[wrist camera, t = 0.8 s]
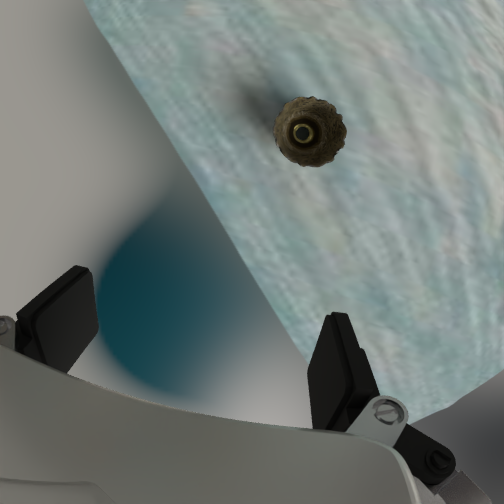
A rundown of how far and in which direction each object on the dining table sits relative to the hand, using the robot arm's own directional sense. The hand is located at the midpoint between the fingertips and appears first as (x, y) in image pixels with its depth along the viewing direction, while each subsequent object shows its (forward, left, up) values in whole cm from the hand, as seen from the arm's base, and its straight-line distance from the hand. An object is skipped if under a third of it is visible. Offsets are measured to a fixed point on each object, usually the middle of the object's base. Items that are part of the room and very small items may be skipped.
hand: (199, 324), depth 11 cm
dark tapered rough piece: (-10, -3, -30) cm, 31 cm away
